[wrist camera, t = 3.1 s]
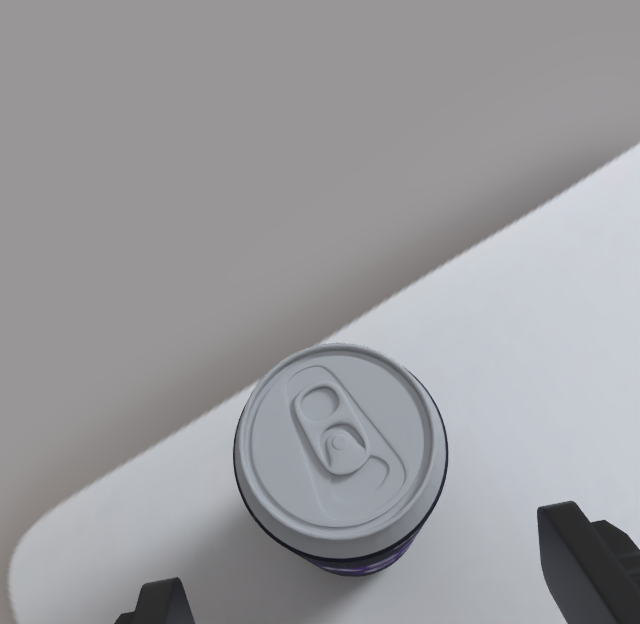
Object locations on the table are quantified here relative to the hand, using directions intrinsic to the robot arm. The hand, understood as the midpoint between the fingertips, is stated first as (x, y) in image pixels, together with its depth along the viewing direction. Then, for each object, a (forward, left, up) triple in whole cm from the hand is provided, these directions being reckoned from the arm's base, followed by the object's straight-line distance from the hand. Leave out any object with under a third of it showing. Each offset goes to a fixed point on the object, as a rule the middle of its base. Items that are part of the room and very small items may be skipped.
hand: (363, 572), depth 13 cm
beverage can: (+2, +2, -12) cm, 13 cm away
